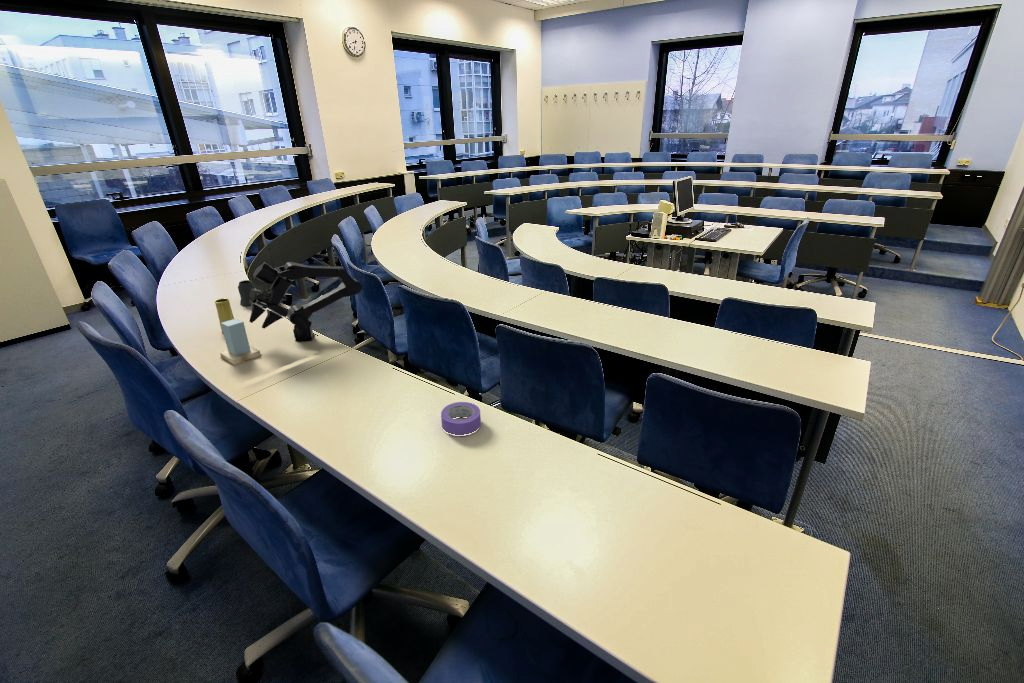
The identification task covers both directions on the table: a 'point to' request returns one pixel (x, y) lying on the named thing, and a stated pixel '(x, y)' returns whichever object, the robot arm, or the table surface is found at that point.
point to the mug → (245, 292)
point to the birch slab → (240, 356)
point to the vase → (224, 310)
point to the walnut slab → (241, 362)
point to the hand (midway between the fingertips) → (256, 325)
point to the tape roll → (463, 424)
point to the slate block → (235, 337)
